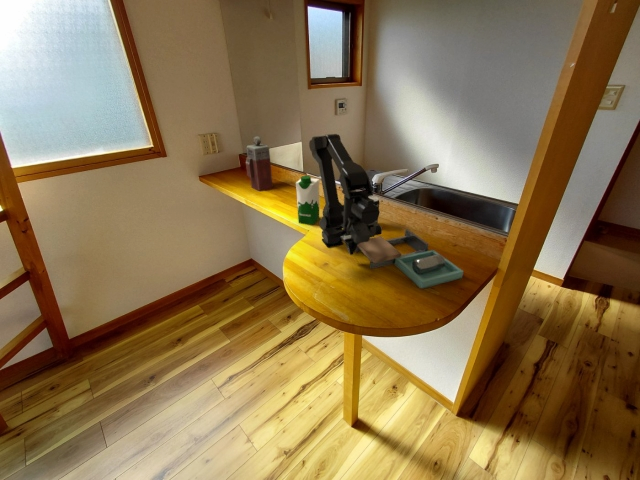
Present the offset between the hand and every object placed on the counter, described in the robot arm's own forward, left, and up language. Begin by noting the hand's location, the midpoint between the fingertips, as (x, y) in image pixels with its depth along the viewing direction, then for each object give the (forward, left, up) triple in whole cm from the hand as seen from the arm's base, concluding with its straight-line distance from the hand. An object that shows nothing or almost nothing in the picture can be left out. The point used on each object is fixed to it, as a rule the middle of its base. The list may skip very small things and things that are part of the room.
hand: (351, 254), depth 99 cm
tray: (+21, -14, -3) cm, 25 cm away
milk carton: (-2, +37, -3) cm, 37 cm away
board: (+10, 0, -3) cm, 10 cm away
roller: (+21, -14, 0) cm, 25 cm away
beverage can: (+20, +23, -3) cm, 30 cm away
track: (+15, 0, -3) cm, 15 cm away
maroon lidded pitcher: (-14, +89, -3) cm, 90 cm away
